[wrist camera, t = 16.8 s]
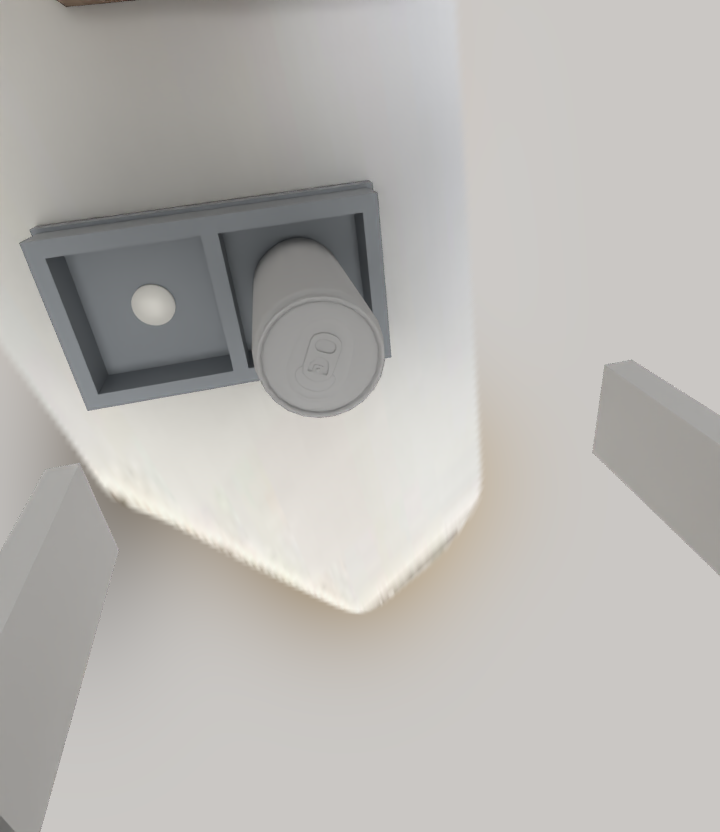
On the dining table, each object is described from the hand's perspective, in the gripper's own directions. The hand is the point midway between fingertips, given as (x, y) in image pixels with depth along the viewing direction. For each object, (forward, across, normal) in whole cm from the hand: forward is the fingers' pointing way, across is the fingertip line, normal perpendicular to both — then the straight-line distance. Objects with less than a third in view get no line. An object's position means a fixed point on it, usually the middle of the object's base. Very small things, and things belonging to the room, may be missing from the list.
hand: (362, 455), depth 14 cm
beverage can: (+18, 0, 0) cm, 18 cm away
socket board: (+19, -4, 0) cm, 20 cm away
